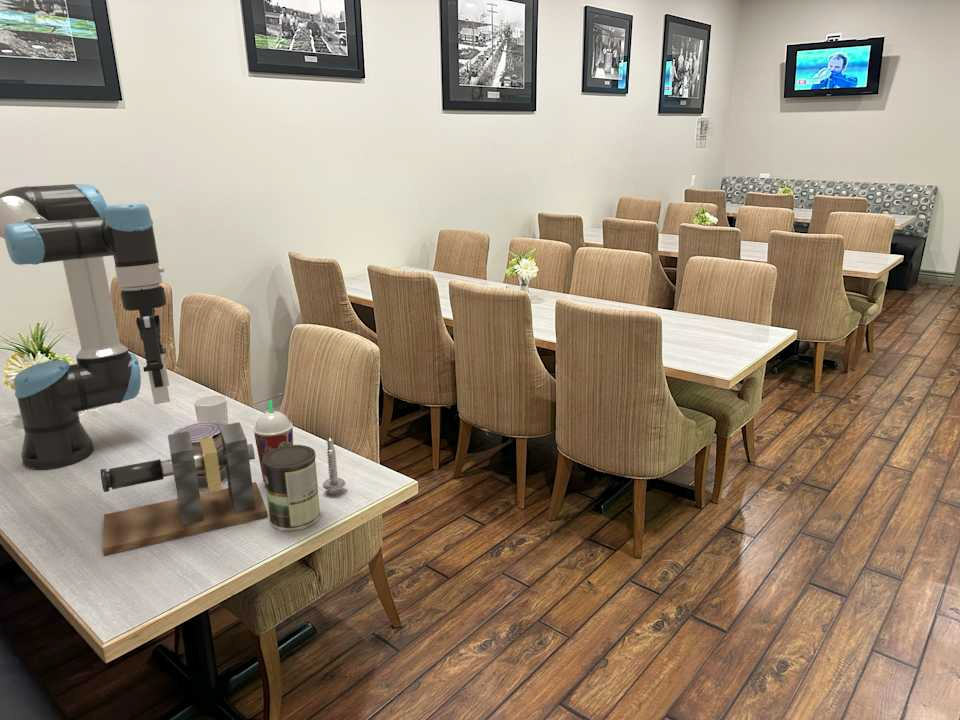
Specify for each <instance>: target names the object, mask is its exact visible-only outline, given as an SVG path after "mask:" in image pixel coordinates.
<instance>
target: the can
mask: <svg viewBox="0 0 960 720" xmlns="http://www.w3.org/2000/svg"><path fill="white" fill-rule="evenodd" d="M221 425H224V424H222V423H220V422H217V421H215V420H213V421H205V422H198V421H197V422H192V423H190V424H188V425H186V426H183V427H181V428H179V429H178V428H177V429H176V430H174V432H173V433H172V434H176V433H182V432H187V431H189V434H190V439H191V443H192V448H193V453H194V455H196V454H201V446H200V440H199V439H202V438H208V437H212V438H213V441H214V444H215V447H216V451H217V450H222V449H223V447H222V440H221V433H220V426H221ZM219 470H220V477H221V484H222V483H224V481H225V480H227V475H226V468H225V465H222V466H219ZM196 473H197V479H198V486H199V489H208V486H207V482H206V478H205V473H204V469H202V470H197V471H196Z"/></svg>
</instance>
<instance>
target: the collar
mask: <svg viewBox="0 0 960 720" xmlns="http://www.w3.org/2000/svg"><path fill="white" fill-rule="evenodd" d="M199 440H200V446H201V453H202V454H203V458H204V464H205V469H204V473H205V478H206V482H207V486H208V488H207V491H208V492H209V493H211V492H216V491H220V490H222V489H223V486H222V483H221V477H220V470H219V463H218V456H217V451H216V447H215V444H214V441H213V438H212V437H208V438H202V439H199Z"/></svg>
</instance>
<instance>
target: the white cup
mask: <svg viewBox="0 0 960 720" xmlns="http://www.w3.org/2000/svg"><path fill="white" fill-rule="evenodd" d="M193 405H194V411H195V416H196V420H197V422H205V421H213V420H215V421H217V422H220V423H222V424H224V425H227V424H229V417H228V403H227V397H226V396H224V395H222V394H220V395H219V394H212V395H205V396H201V397H199V398H197V399H195V400H194V402H193Z"/></svg>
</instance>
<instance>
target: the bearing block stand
mask: <svg viewBox="0 0 960 720" xmlns="http://www.w3.org/2000/svg"><path fill="white" fill-rule="evenodd" d="M220 433H221V440H222V447H223V449H226V457H227V465H225V468H226V475H227V478H226V481H227V487H225V488H222V490H220V491H216V492H211V493H209V491H207V492H203V493H200V488H199V486H198V479H197V473H196V466H195V460H194V453H193V448H192V443H191V439H190V434H189V431H187V432H182V433H176V434H173V433H172V434H167V441H168V446H169V453H170V459H171V460H172V466H173V472H174V475H173V476H174V483H175V489H176V496H177V498H174V499H171V500H165V501H160V502H156V503H151V504H148V505H147V504H146V505H141V506H136V507H133V508H128V509H123V510H118V511H114V512H109V513H105V514H103V527H102V528H103V529H102V547H101V550H102V555H103V556H105V557H106V556H108V555H113V554H119V553H122V552H126V551H130V550H135V549H138V548H139V549H140V548H142V547H147V546H150V545H151V546H152V545H155V544H159V543H163V542H168V541H172V540H176V539H181V538H184V537H190V536H193V535H197V534H201V533H205V532H206V533H207V532H211V531H215V530H219V529H224V528H227V527H230V526H232V527H233V526H235V525H238V524H244V523H247V522H252V521H256V520H261V519H265V518H269V512H268V509H267V506H266V504H265V502H264V499H263V496H262V494H261V492H260V489H259V487H258V484H257V482H256V481H254V482H253V479H252V470H251V464H250V463H251V461H250V460H249V454H248V446H247V445H248V440H247V437H246V434H245V432H244V430H243V428H242V424H241V422H239V421H238V422H233V423H228V424H227V425H221V426H220Z"/></svg>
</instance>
